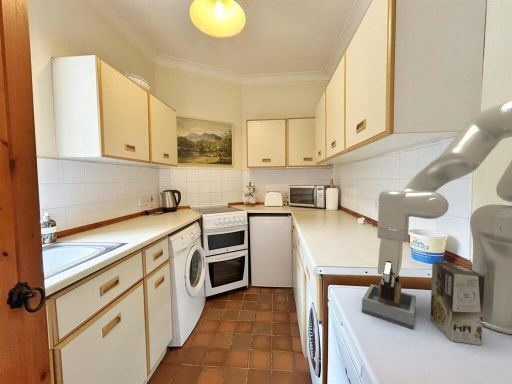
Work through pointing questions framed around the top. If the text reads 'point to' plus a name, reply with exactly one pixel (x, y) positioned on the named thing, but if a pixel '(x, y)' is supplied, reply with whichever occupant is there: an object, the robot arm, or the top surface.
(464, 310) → the coffee box
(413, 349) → the top surface
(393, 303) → the walnut block
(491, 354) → the top surface
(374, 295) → the tray
